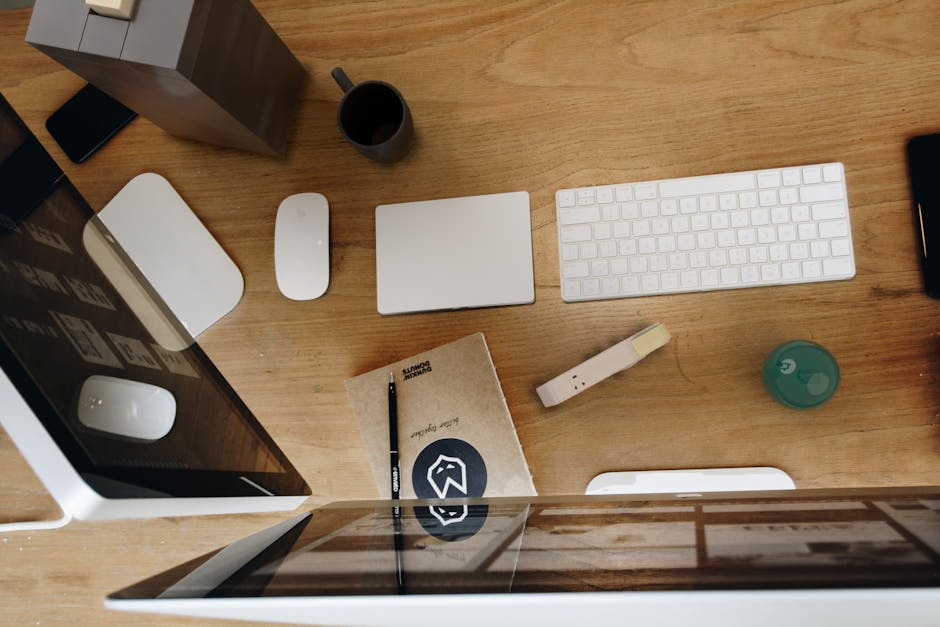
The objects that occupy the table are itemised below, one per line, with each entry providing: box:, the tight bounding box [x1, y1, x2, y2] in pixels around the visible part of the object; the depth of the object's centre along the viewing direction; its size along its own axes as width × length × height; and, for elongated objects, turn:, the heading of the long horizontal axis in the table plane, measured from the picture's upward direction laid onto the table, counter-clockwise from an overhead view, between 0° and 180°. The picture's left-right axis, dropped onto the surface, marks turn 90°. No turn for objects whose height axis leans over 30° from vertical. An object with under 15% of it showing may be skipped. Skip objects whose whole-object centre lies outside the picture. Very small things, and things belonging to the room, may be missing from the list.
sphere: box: [759, 338, 842, 413], centre depth 76 cm, size 8×8×8 cm
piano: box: [24, 0, 307, 159], centre depth 79 cm, size 16×12×26 cm
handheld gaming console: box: [535, 321, 672, 408], centre depth 79 cm, size 11×3×15 cm
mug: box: [330, 66, 415, 164], centre depth 84 cm, size 8×12×10 cm
